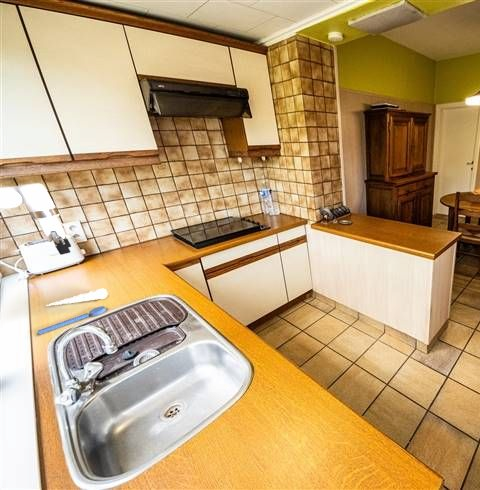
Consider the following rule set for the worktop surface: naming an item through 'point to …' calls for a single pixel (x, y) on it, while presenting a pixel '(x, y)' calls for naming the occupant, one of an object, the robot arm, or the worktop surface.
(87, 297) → the unicorn horn
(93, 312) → the blue spoon
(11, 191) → the robot arm
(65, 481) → the worktop surface
